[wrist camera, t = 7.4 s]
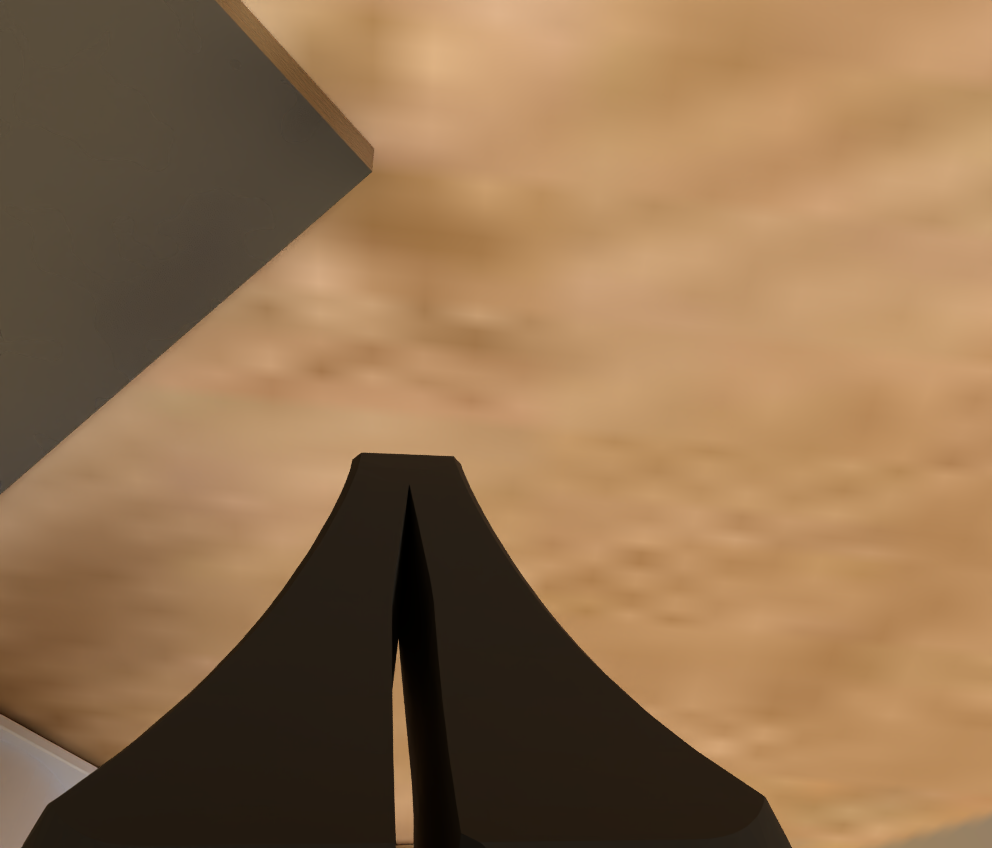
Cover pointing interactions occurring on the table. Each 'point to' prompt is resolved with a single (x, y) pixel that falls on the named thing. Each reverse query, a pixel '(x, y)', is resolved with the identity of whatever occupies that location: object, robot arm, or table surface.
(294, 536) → the table surface
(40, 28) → the base plate
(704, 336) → the table surface
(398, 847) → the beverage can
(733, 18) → the table surface
